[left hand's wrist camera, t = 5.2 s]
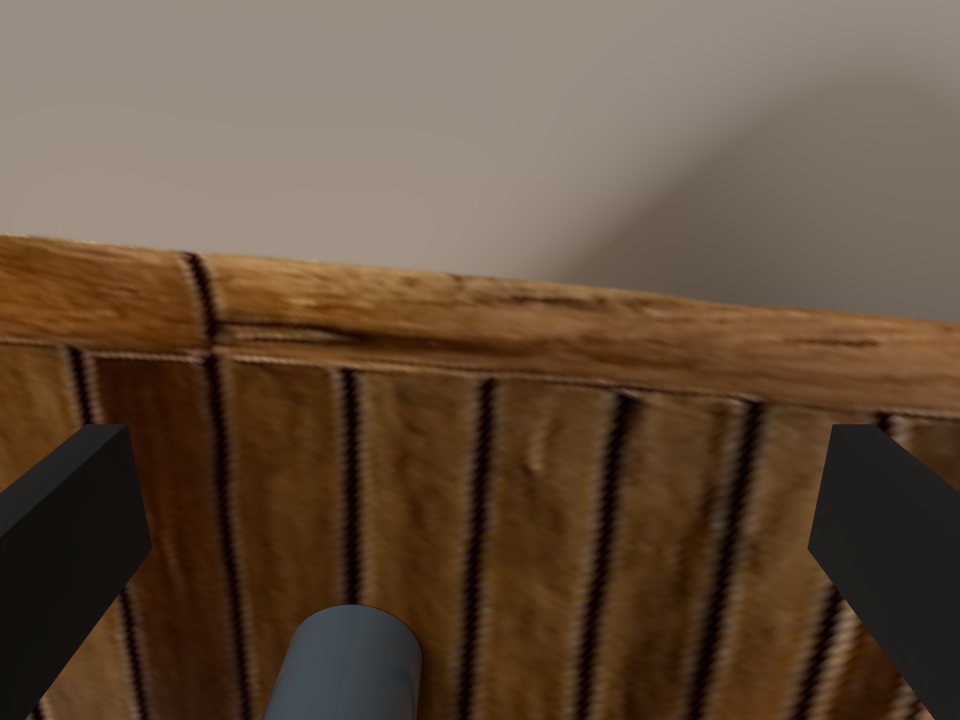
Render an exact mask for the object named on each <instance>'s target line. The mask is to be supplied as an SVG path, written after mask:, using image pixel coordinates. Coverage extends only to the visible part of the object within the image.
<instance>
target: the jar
mask: <svg viewBox="0 0 960 720" xmlns="http://www.w3.org/2000/svg"><path fill="white" fill-rule="evenodd" d="M421 672H422V652H421V649H420V645H419V643H418V641H417V639H416V637H415V636H414V634H413V633H412V632H411V630H410V629H409V628H408V627H407V626H406V625H405V624H404V623H402V622H401V621H400V620H399V619H397V618H396V617H394V616H393V615H391V614H389V613H387V612H384V611H382V610H379V609H376V608H372V607H369V606H362V605H339V606H334V607H330V608H326V609H323V610H321V611H319V612H316V613H315V614H313V615H311V616H309V617H308V618H307V619H306V620H304V621H303V622H302V623H301V624H300V625H299V626H298V627H297V629H296V630H295V632H294V633H293V635H292V637H291V639H290V642H289V645H288V648H287V651H286V653H285V656H284V659H283V662H282V665H281V667H280V670H279V673H278V676H277V679H276V681H275V684H274V687H273V690H272V693H271V695H270V698H269V701H268V704H267V707H266V709H265V712H264V715H263V718H262V720H417V710H418V701H419V691H420V681H421Z"/></svg>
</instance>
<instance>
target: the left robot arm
mask: <svg viewBox="0 0 960 720" xmlns="http://www.w3.org/2000/svg"><path fill="white" fill-rule="evenodd" d="M151 550H152V544H151V539H150V534H149V529H148V524H147V519H146V515H145V510H144V505H143V500H142V495H141V490H140V485H139V480H138V475H137V470H136V465H135V460H134V456H133V451H132V446H131V441H130V436H129V431H128V426H127V424H86V425H85V426H83V427H82V428H81V429H80V430H78V431H77V432H76V433H75V434H73V435H72V436H71V437H70V438H68V439H67V440H66V441H65V442H63V443H62V444H61V445H60V446H58V447H57V448H56V449H55V450H54V451H52V452H51V453H50V454H49V455H47V456H46V457H45V458H44V459H42V460H41V461H40V462H39V463H37V464H36V465H35V466H34V467H32V468H31V469H30V470H29V471H27V472H26V473H25V474H24V475H22V476H21V477H20V478H19V479H17V480H16V481H15V482H14V483H12V484H11V485H10V486H9V487H7V488H6V489H5V490H4V491H2V492H1V493H0V720H25V719H26V718H27V717H28V715H29V714H30V713H31V711H32V710H33V709H34V707H35V706H36V705H37V703H38V702H39V701H40V699H41V698H42V696H43V695H44V694H45V692H46V691H47V690H48V688H49V687H50V686H51V684H52V683H53V682H54V680H55V679H56V678H57V676H58V675H59V674H60V672H61V671H62V670H63V668H64V667H65V666H66V664H67V663H68V662H69V660H70V659H71V658H72V656H73V655H74V653H75V652H76V651H77V649H78V648H79V647H80V645H81V644H82V643H83V641H84V640H85V639H86V637H87V636H88V635H89V633H90V632H91V631H92V629H93V628H94V627H95V625H96V624H97V623H98V621H99V620H100V619H101V617H102V616H103V615H104V613H105V612H106V610H107V609H108V608H109V606H110V605H111V604H112V602H113V601H114V600H115V598H116V597H117V596H118V594H119V593H120V592H121V590H122V589H123V588H124V586H125V585H126V584H127V582H128V581H129V580H130V578H131V577H132V576H133V574H134V573H135V572H136V570H137V569H138V567H139V566H140V565H141V563H142V562H143V561H144V559H145V558H146V557H147V555H148V554H149V553H150V551H151ZM808 550H809V551H810V553H811V554H812V555H813V557H814V558H815V559H816V561H817V562H818V563H819V565H820V566H821V567H822V569H823V570H824V572H825V573H826V574H827V576H828V577H829V578H830V580H831V581H832V582H833V584H834V585H835V586H836V588H837V589H838V590H839V592H840V593H841V594H842V596H843V597H844V598H845V600H846V601H847V602H848V604H849V605H850V606H851V608H852V609H853V610H854V612H855V613H856V615H857V616H858V617H859V619H860V620H861V621H862V623H863V624H864V625H865V627H866V628H867V629H868V631H869V632H870V633H871V635H872V636H873V637H874V639H875V640H876V641H877V643H878V644H879V645H880V647H881V648H882V649H883V651H884V652H885V653H886V655H887V656H888V658H889V659H890V660H891V662H892V663H893V664H894V666H895V667H896V668H897V670H898V671H899V672H900V674H901V675H902V676H903V678H904V679H905V680H906V682H907V683H908V684H909V686H910V687H911V688H912V690H913V691H914V692H915V694H916V695H917V696H918V698H919V699H920V701H921V702H922V703H923V705H924V706H925V707H926V709H927V710H928V711H929V713H930V714H931V715H932V717H933V718H934V719H935V720H960V493H959V492H958V491H956V490H955V489H954V488H953V487H951V486H950V485H949V484H948V483H946V482H945V481H944V480H943V479H941V478H940V477H939V476H938V475H936V474H935V473H934V472H933V471H931V470H930V469H929V468H928V467H926V466H925V465H924V464H923V463H921V462H920V461H919V460H918V459H916V458H915V457H914V456H913V455H911V454H910V453H909V452H908V451H906V450H905V449H904V448H903V447H902V446H900V445H899V444H898V443H897V442H895V441H894V440H893V439H892V438H890V437H889V436H888V435H887V434H885V433H884V432H883V431H882V430H880V429H879V428H878V427H877V426H875V425H874V424H833V426H832V431H831V436H830V441H829V446H828V451H827V456H826V460H825V465H824V470H823V475H822V480H821V485H820V490H819V495H818V500H817V505H816V510H815V515H814V519H813V524H812V529H811V534H810V539H809V544H808Z"/></svg>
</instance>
